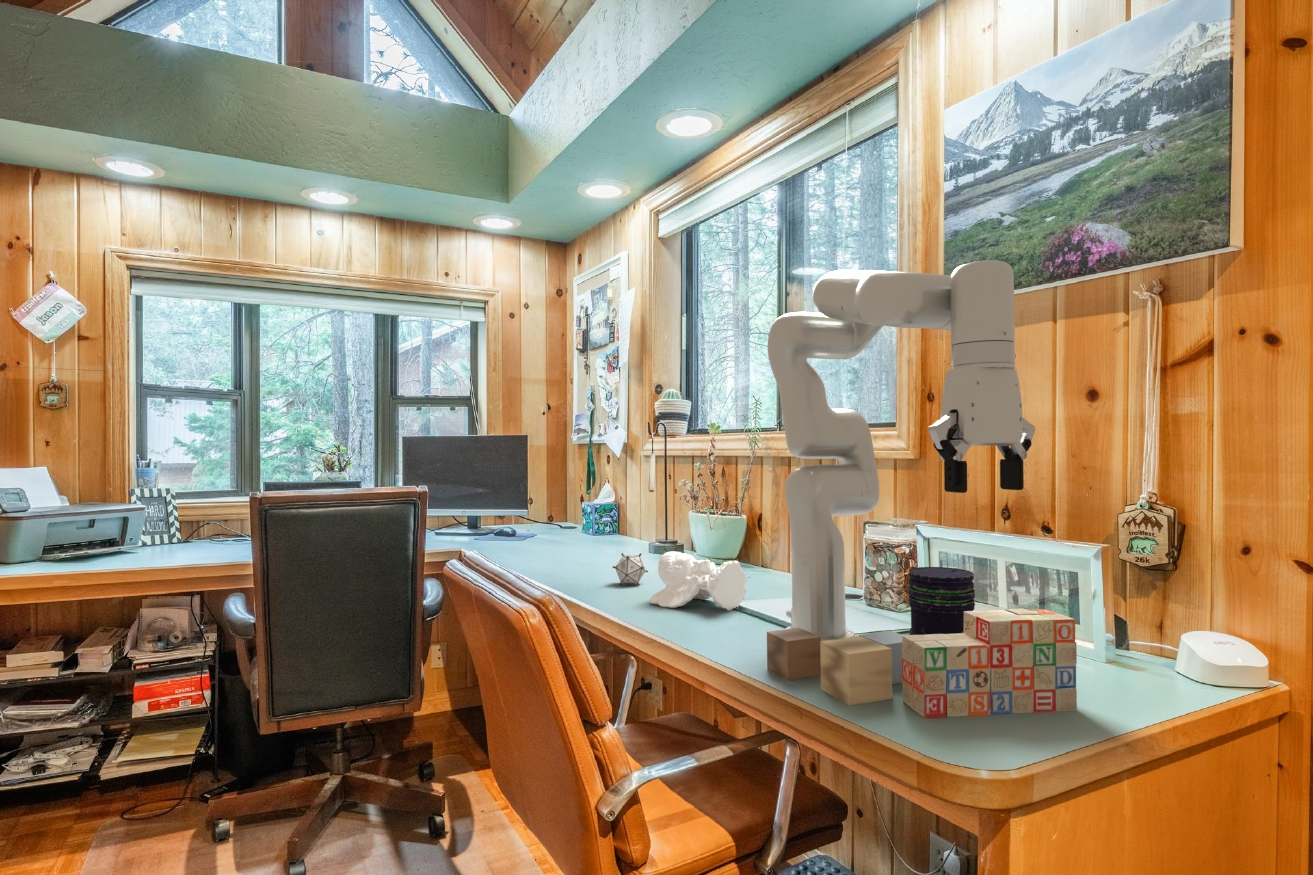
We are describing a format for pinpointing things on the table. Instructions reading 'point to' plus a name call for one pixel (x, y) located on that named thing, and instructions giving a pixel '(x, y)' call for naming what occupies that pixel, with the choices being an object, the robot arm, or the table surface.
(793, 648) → the walnut cube
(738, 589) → the cherub figurine
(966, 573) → the storage jar
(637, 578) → the game die
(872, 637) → the slate cube
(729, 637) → the table surface
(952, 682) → the stack of blocks
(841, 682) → the oak block
